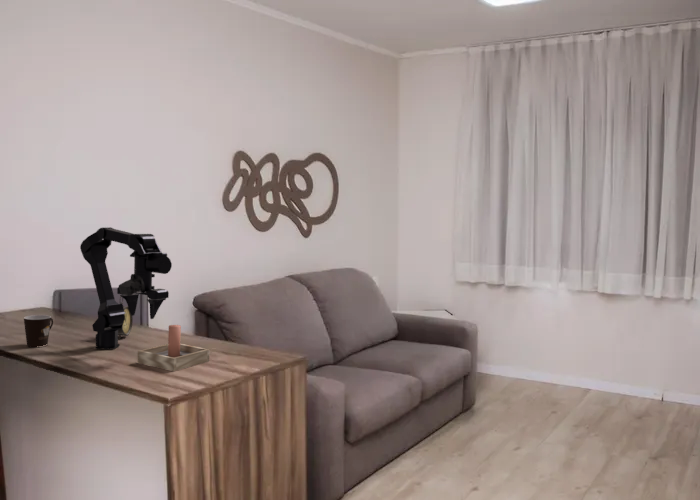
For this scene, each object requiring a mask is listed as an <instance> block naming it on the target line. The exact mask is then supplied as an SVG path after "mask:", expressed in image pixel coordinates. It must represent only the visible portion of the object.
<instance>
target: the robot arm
mask: <svg viewBox="0 0 700 500" xmlns="http://www.w3.org/2000/svg"><path fill="white" fill-rule="evenodd" d="M112 242H114V243H118V244H122V245H126V246H128V248H129V249H131V250H132V251H133V252H132V253H131V254H129V257H130V258H134V263H133V264H134V266H133V273H131V275H130V279H128V280H126V281H123V282H122V283H120V284H119V285H118V287H117V288H116V289H117V292H116V293H117V294H118V295H119V296H120V297H121V298H122V297H123V300H125V302H126V304H127V305H126V306H128V308H129V310H130V313H131V316H132V317H134V316H135V314H136V311H137V305H138V301H139V297H140V296H139V295H142V296H143V295H144V296H147V298H148V299H146V301H147V302H148V303H149V317H150V320H153V319H154V318H155V317H156V315H157V313H158V311H159V309H160V307H161V305H162V304H163V302H164V301H166V300H167V299H169V296H170V295H169V291H168V289H166V288H165V289H164V288H155V285H153V278H155V274H162V275H163V274H164V275H167V274H168V273H170V272H171V269H172V264H173V263H172V261H171V258H169V257H168V253H167V252H162V248H161V247H160V245H159V244H158V241H157V240H156V238H155V235H154V234H152V233H132V232H128V231H125V230H121V229H116V228H113V227H100V228H98V229H97V230H96V231H95V232H94V233H92V234H90V235H89V236H88V235H87V237H86V238H85V239H84V240H82V242H81V244H80V246H79V247H80V252H81V254H82V255H81V256H83V259H84V260H85V261H86V262H87V263H88V264H89V265H90V269H91V273H92V278H93V281H94V284H95V287H96V288H95V289H96V293H97V296H98V297H97V298H98V301H99V307H98V309H97V317H98V318H97V319H96V320H95V321H94V322H93V324H92V330H93V332H96V334H95V347H94V349H97V350H115V349H117V348H119V346H120V344H119V340H118V339H119V336H118V329H122V327H123V323H124V320H125V315H124V314H125V312H124V309H123V306H124V305H123V304H122V303H120V302H118V301H116V299H115V294H114V292H113V291H114V290H113V287H112V283H111V280H110V276H109V271H108V267H107V264H106V261H107V260H106V259H107V257H108V253H109V252H108V249H109V247H110V246H112ZM154 273H155V274H154ZM117 294H116V295H117Z"/></svg>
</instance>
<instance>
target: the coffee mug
mask: <svg viewBox="0 0 700 500" xmlns="http://www.w3.org/2000/svg"><path fill="white" fill-rule="evenodd" d="M23 323H24V331H25V339H26V347H27V346H28V347H27V348H31V347H37V346H43V345H46V344H48V343H49V335H50V330H51V329H52V328H53V325H54V319H53V318H52V316H51V315H46V314H35V315H34V314H33V315H26V316H24V317H23Z"/></svg>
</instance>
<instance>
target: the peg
mask: <svg viewBox="0 0 700 500" xmlns="http://www.w3.org/2000/svg"><path fill="white" fill-rule="evenodd" d="M181 330H182V326H181V325H179V324H170V325H168V333H167V335H168V337H167V339H168V340H167V344H168V356H169V357H173V358H175V357H179V356H180V344H181V338H182V337H181V332H182V331H181Z"/></svg>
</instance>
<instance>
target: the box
mask: <svg viewBox="0 0 700 500" xmlns="http://www.w3.org/2000/svg"><path fill="white" fill-rule="evenodd" d="M210 351H211V349H209V348H204V347H200V346H194V345H188V344H186V343H185V344H184V343H180V356H179V357H175V358H173V357H169V356H168V343H167V344H162V345H161V344H160V345H157V346H153V347H150V348H149V347H148V348H144V349H140V350H137V364H140V365H145V366H148V367H153V368H158V369H162V370H165V371H171V372H177V371H180V370H184V369H186V368H190V367H194V366H197V365H201V364H205V363H208V362H210Z"/></svg>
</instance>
